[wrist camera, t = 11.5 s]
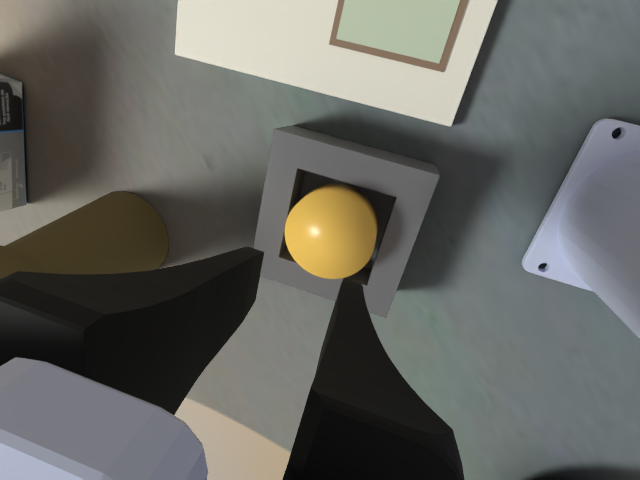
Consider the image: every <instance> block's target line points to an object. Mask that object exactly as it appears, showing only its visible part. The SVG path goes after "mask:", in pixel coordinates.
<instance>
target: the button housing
mask: <svg viewBox="0 0 640 480" xmlns="http://www.w3.org/2000/svg"><path fill="white" fill-rule="evenodd" d="M439 176H440V174H439V172H438V170H437V167H436V165H435V164H431V163H428V162H424V161H420V160H417V159H413V158H409V157H406V156H402V155H399V154H395V153H391V152H388V151H384V150H380V149H377V148H373V147H370V146H366V145H362V144H359V143H355V142H351V141H348V140H344V139H341V138H337V137H333V136H330V135H326V134H323V133H319V132H315V131H312V130H308V129H304V128H301V127H297V126H294V125H291V126H286V127H282V128H277V129H274V132H273V137H272V143H271V149H270V155H269V160H268V166H267V172H266V178H265V183H264V189H263V195H262V201H261V206H260V212H259V218H258V223H257V229H256V235H255V241H254V246H253V248H254V249H257V250H260V251H263V252H264V257H263V262H262V267H261V273H260V276H262V277H265V278H268V279H271V280H274V281H277V282H280V283H283V284H286V285H289V286H292V287H295V288H298V289H301V290H304V291H307V292H310V293H313V294H316V295H319V296H322V297H325V298H328V299H331V300H334V301H336V299H337V295H338V292H339V289H340V285H341V283H342V281H343V279H344V278H340V279H327V278H322V277H318V276H316V275H313V274H311V273H309V272H307V271H306V270H305V269H303V268H302V267H301V266H300V265H299V264H298V263H297V262H296V261H295V260H294V259H293V257H292V256H291V254H290V252H289V250H288V247H287V245H286V241H285V224H286V220H287V218H288V215H289V213H290V212H291V210H292V209H293V207H294V206H295V205H296V204H297V203H298V202H299V201H300V200H301V199H303V198H304V197H305V196H306V195H307V194H308V193H309V192H310V191H312V190H313V189H315V188H317V187H319V186H321V185H324V184H329V183H341V184H346V185H349V186H352V187H354V188H356V189H358V190H359V191H361V192H362V193H363V194H364V195H365V196H367V198H368V199H369V200H370V201H371V203H372V204H373V206H374V208H375V210H376V213H377V216H378V234H377V238H376V242H375V246H374V250H373V253H372V255H371V257H370V259H369V261H368V262H367V263H366V265H365V266H364V267H363V268H362V269H361V270H359V271H358V272H356V273H355V274H353V275H351V276H348V277H345V278H346V279H349V280H352V281H355V282H358V283H361V284H362V286H363V290H364V297H365V301H366V305H367V309H368V312H370V313H373V314H376V315H379V316H382V317H385V318H386V317H387V314H388V312H389V309H390V306H391V304H392V301H393V298H394V296H395V293H396V290H397V288H398V285H399V282H400V280H401V277H402V275H403V272H404V269H405V267H406V264H407V261H408V259H409V256H410V253H411V251H412V248H413V245H414V243H415V240H416V237H417V235H418V232H419V229H420V227H421V224H422V222H423V219H424V216H425V214H426V211H427V208H428V206H429V203H430V200H431V198H432V195H433V192H434V190H435V187H436V184H437V182H438V179H439Z"/></svg>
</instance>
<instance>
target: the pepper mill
mask: <svg viewBox="0 0 640 480" xmlns="http://www.w3.org/2000/svg"><path fill="white" fill-rule="evenodd" d="M168 248H169V238H168V234H167V230H166V226H165V224H164V223H163V221H162V219H161V217H160V215H159V214H158V213H157V211H156V210H155V209H154V208H153V207H152V206H151V205H150V204H149V203H148V202H146V201H145V200H143V199H142V198H140V197H139V196H137V195H134V194H131V193H128V192H125V191H122V192H111V193H109V194H107V195H105V196H103V197H101V198H99V199H97V200H95V201H93V202H91V203H89V204H87V205H85V206H83V207H81V208H79V209H77V210H75V211H73V212H71V213H69V214H67V215H65V216H63V217H61V218H59V219H57V220H55V221H53V222H51V223H49V224H47V225H45V226H43V227H41V228H39V229H37V230H35V231H33V232H31V233H29V234H27V235H26V236H24V237H22V238H20V239H18V240H16V241H14V242H12V243H10V244H8V245H6V246H0V279H1V278H3V277H6V276H8V275H10V274H12V273H15V272H17V271H24V272H38V273H55V274H116V273H128V272H140V271H149V270H155V269H157V268H158V267H159V266H160V265H161V264H162V263H164V261H165V258H166V256H167V254H168Z"/></svg>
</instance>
